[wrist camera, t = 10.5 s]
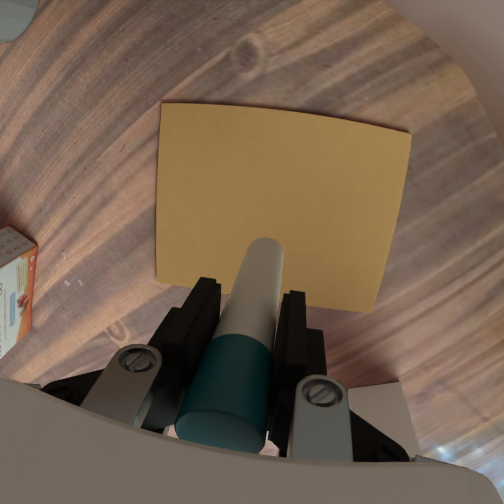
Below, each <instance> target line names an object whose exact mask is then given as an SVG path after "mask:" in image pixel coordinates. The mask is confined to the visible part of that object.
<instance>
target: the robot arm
mask: <svg viewBox="0 0 504 504" xmlns="http://www.w3.org/2000/svg"><path fill="white" fill-rule="evenodd" d="M220 302H221V284H220V283H217V281H216V279H214V278H207V277H200V278H199V280H198V281H197V283H196V285H195V286H194V288H193V289H192V291H191V293H190V294H189V296H188V297H187V299H186V301H185V302H184V304H183V305H182V307H181V308H177V307H172V308H171V309H170V311H169V312H168V314H167V315H166V317H165V318H164V320H163V321H162V323H161V324H160V326H159V327H158V329H157V330H156V332H155V333H154V335H153V336H152V338H151V339H150V341H149V342H148V344H147V345H145V344H131V345H128V346H125V347H123V348H121V349H119V350H118V351H117V352H116V353H115V355H114V356H113V357H112V359H111V360H110V362H109V363H108V365H107V366H106V368H105V369H101V370H97V371H93V372H89V373H86V374H82V375H77V376H73V377H69V378H65V379H61V380H57V381H53V382H51V383H49V384H47V385H46V386H44V387H43V388H41V386H40V384H27V383H21V382H19V381H16V380H13V379H10V378H8V377H5V376H1V375H0V504H503V502H502V500H501V497H500V495H499V493H498V491H497V490H496V488H495V486H494V485H493V483H492V482H491V481H490V480H489V479H488V478H487V477H485V476H484V475H483V474H481V473H478V472H476V471H474V470H471V469H468V468H465V467H461V466H457V465H453V464H449V463H445V462H441V461H437V460H434V459H430V458H426V457H423V456H419V455H415V457H414V458H412V457H409V455H408V454H407V452H406V450H405V449H404V448H403V447H402V446H401V445H399V444H398V443H397V442H395V441H394V440H392V439H391V438H389V437H388V436H387V435H385V434H384V433H382V432H381V431H379V430H378V429H377V428H375V427H374V426H372V425H371V424H370V423H368V422H367V421H365V420H364V419H363V418H361V417H360V416H359V415H357V414H356V413H354V412H353V411H352V410H350V409H349V401H348V393H347V390H346V388H345V387H344V386H343V384H342V383H340V382H339V381H338V380H336V379H334V378H332V377H330V376H327V370H326V358H325V347H324V336H323V331H322V330H317V329H309V328H307V327H306V296H305V292H302V291H294V290H290V292H289V294H287V293H283V299H282V304H281V310H280V316H279V322H278V328H277V333H276V339H275V345H274V350H273V358H274V368H273V376H272V384H271V392H270V399H271V402H270V410H269V418H268V426H267V431H269V433H268V440H270V441H272V442H273V443H274V444H275V445H276V446H277V447H278V448H279V449H278V452H277V457H275V456H268V455H260V454H253V453H247V452H241V451H235V450H229V449H224V448H218V447H213V446H208V445H204V444H199V443H195V442H190V441H186V440H182V439H178V438H174V437H170V436H167V435H168V432H169V426H170V425H173V424H174V422H175V419H176V416H177V414H178V411H179V409H180V406H181V404H182V402H183V399H184V397H185V394H186V392H187V389H188V387H189V384H190V382H191V380H192V377H193V375H194V372H195V370H196V368H197V365H198V363H199V360H200V358H201V355H202V353H203V351H204V348H205V347H206V345H207V344H208V343H209V342H210V341H211V339H212V337H213V334H214V332H215V329H216V327H217V324H218V322H219V317H220Z"/></svg>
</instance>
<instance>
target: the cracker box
mask: <svg viewBox="0 0 504 504" xmlns="http://www.w3.org/2000/svg"><path fill="white" fill-rule="evenodd" d="M37 252H38V245H37V244H35V243H34V242H32V241H31V240H29V239H28V238H26V237H25V236H24V235H22V234H21V233H20V232H18V231H17V230H15V229H14V228H13V227H11V226H10V225H7V226H5V227H3V228H1V229H0V359H1V358H2V357H3V356H4V355H5V354H6V353H7V352H8V351H9V350H10V349H11V348H12V347H13V346H14V345H15V344H16V343H17V342H18V341H19V340H20V339H21V338H22V337H23V336H24V335H25V334H26V333H27V332H29V331H30V330H31V311H32V296H33V285H34V275H35V267H36V259H37Z"/></svg>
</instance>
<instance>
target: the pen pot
mask: <svg viewBox="0 0 504 504" xmlns="http://www.w3.org/2000/svg"><path fill="white" fill-rule="evenodd" d="M38 2H39V0H0V42H1V43H7V42H11V41H13V40H15V39H16V38H17V37H19V36H20V35H21V34H22V33H23V32H24V30H25V29H26V28H27V27H28V25H29V24H30V22H31V20H32V18H33V16H34V14H35V12H36V9H37V6H38Z"/></svg>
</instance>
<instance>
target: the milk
mask: <svg viewBox="0 0 504 504" xmlns="http://www.w3.org/2000/svg"><path fill="white" fill-rule="evenodd" d="M348 401H349V409H350V410H352V411H353V412H354V413H356V414H357V415H359V416H360V417H361V418H363V419H364V420H365V421H367V422H368V423H370V424H371V425H372V426H374V427H375V428H377V429H378V430H379V431H381V432H382V433H384V434H385V435H387V436H388V437H389V438H391V439H392V440H394V441H395V442H397V443H398V444H399V445H401V446H402V447H403V448H404V449H405V450H406V452H407V454H408V455H409V457H412V458H414V457H415V455H419V456H421V453H420V449H419V446H418V442H417V438H416V434H415V431H414V427H413V423H412V420H411V416H410V413H409V410H408V406H407V403H406V400H405V396H404V393H403V390H402V387H401V383H400V382H395V383H388V384H381V385H373V386H365V387H357V388H349V389H348Z"/></svg>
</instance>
